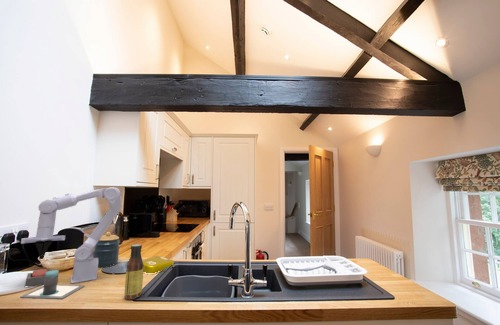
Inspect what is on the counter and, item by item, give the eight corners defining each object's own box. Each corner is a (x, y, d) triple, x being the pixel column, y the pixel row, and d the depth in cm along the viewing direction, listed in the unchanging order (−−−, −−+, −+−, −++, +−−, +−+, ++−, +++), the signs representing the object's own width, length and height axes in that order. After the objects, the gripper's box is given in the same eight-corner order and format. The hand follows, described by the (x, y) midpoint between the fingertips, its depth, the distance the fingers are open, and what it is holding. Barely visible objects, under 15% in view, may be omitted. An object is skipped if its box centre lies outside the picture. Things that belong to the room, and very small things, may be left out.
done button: (46, 275, 104) (47, 268, 104) (46, 278, 100) (47, 271, 101) (31, 277, 101) (33, 270, 101) (31, 280, 97) (32, 273, 98)
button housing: (50, 278, 106) (51, 270, 106) (50, 283, 100) (51, 275, 100) (26, 281, 101) (27, 273, 101) (24, 287, 95) (26, 279, 95)
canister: (113, 267, 123) (116, 233, 125) (86, 268, 120) (90, 233, 122) (121, 260, 135) (124, 230, 138) (96, 261, 133) (100, 229, 135)
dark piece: (56, 290, 93) (58, 269, 94) (56, 293, 90) (58, 272, 91) (42, 292, 90) (45, 271, 91) (42, 296, 87) (45, 274, 88)
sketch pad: (19, 297, 86) (20, 296, 86) (47, 285, 98) (47, 283, 98) (62, 299, 86) (62, 297, 86) (84, 286, 98) (84, 285, 98)
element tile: (174, 268, 126) (175, 259, 127) (149, 276, 114) (150, 266, 114) (158, 263, 134) (158, 254, 135) (133, 269, 122) (134, 260, 123)
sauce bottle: (144, 295, 92) (149, 244, 95) (132, 301, 87) (137, 247, 89) (132, 292, 95) (137, 242, 97) (119, 298, 89) (125, 245, 91)
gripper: (22, 229, 95) (17, 263, 93) (67, 227, 104) (62, 258, 102) (24, 227, 100) (18, 259, 98) (66, 225, 110) (62, 254, 108)
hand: (41, 258), depth 101 cm, fingers closed
